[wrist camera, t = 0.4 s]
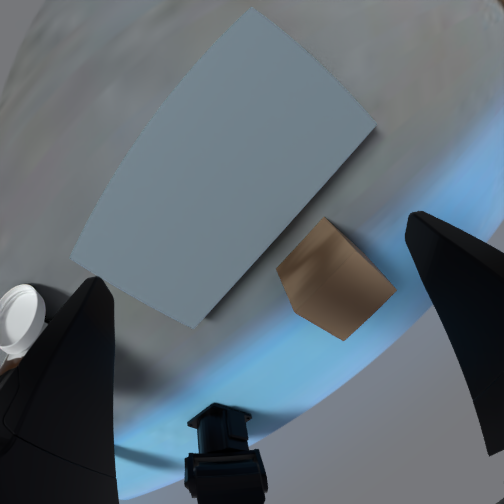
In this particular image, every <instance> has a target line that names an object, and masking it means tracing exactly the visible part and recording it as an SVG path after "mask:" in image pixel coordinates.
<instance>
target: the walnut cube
mask: <svg viewBox="0 0 504 504" xmlns="http://www.w3.org/2000/svg"><path fill="white" fill-rule="evenodd" d="M276 270H277V272H278V275H279V277H280V279H281V282H282V284H283V286H284V289H285V291H286V293H287V296H288V298H289V301H290V303H291V305H292V308H293V310H294V312H295V313H296V314H298V315H299V316H301V317H303V318H305V319H306V320H308V321H310V322H311V323H313V324H315V325H317V326H318V327H320V328H322V329H323V330H325V331H327V332H329V333H330V334H332V335H334V336H335V337H337V338H339V339H341V340H342V341H345V340H346V339H347V338H348V337H349V336H350V335H351V334H352V333H353V332H355V331H356V330H357V329H358V328H359V327H360V326H361V325H362V324H363V323H364V322H365V321H366V320H367V319H368V318H370V317H371V316H372V315H373V314H374V313H375V312H376V311H377V310H378V309H379V308H380V307H381V306H382V305H383V304H384V303H385V302H386V301H387V300H388V299H389V298H390V297H391V296H392V295H393V294H394V293H395V292H396V291H397V289H396V288H395V287H394V286H393V285H392V284H391V283H390V281H389V280H388V279H387V278H386V277H385V276H384V275H383V274H382V272H381V271H380V270H379V269H378V268H377V267H376V266H375V265H374V264H373V263H372V261H371V260H370V259H369V258H368V257H367V256H366V255H365V254H364V253H363V252H362V251H361V250H360V249H359V248H358V247H357V246H356V245H355V244H353V243H352V242H351V241H350V240H349V239H348V238H347V237H346V236H345V235H344V234H343V233H342V232H340V231H339V230H338V229H337V228H336V227H335V226H334V225H333V224H332V223H331V222H329V221H328V220H327V219H326V218H325V217H323V218H322V219H321V221H320V222H319V223H318V224H317V225H316V226H315V227H314V228H313V229H312V230H311V231H310V233H309V234H308V235H307V236H306V237H305V238H304V239H303V240H302V241H301V242H300V243H299V245H298V246H297V247H296V248H295V249H294V250H293V251H292V252H291V253H290V254H289V255H288V256H287V258H286V259H285V260H284V261H283V262H282V263H281V264H280V265H279V266H278V267H277V268H276Z"/></svg>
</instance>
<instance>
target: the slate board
mask: <svg viewBox="0 0 504 504" xmlns="http://www.w3.org/2000/svg"><path fill="white" fill-rule="evenodd" d="M376 125H377V123H376V122H375V121H374V120H373V118H372V117H371V116H370V115H369V114H368V113H367V112H366V110H365V109H364V108H363V107H362V106H361V105H360V104H359V103H358V102H357V100H356V99H355V98H354V97H353V96H352V95H351V94H350V93H349V92H348V91H347V90H346V89H345V88H344V87H343V86H342V85H341V83H340V82H339V81H338V80H337V79H336V78H335V77H334V76H333V75H332V74H331V73H330V72H329V71H327V70H326V69H325V68H324V67H323V66H322V65H321V64H320V63H319V62H318V61H317V60H316V59H315V58H314V57H313V56H312V55H310V54H309V53H308V52H307V51H306V50H305V49H304V48H303V47H302V46H300V45H299V44H298V43H297V42H296V41H295V40H293V39H292V38H291V37H290V36H289V35H288V34H286V33H285V32H284V31H283V30H281V29H280V28H279V27H278V26H276V25H275V24H274V23H273V22H271V21H270V20H269V19H268V18H266V17H265V16H264V15H262V14H261V13H260V12H258V11H257V10H256V9H254V8H253V7H251V8H250V9H248V10H247V11H246V12H245V13H244V14H243V15H242V16H241V17H240V18H239V19H238V20H237V21H236V22H235V23H234V24H233V25H232V26H231V27H230V28H229V29H228V30H227V31H226V32H225V33H224V34H223V35H222V36H221V37H220V38H219V39H218V40H217V41H216V42H215V43H214V44H213V45H212V46H211V47H210V48H209V49H208V50H207V52H206V53H205V54H204V55H203V56H202V57H201V58H200V59H199V60H198V62H197V63H196V64H195V65H194V66H193V67H192V68H191V70H190V71H189V72H188V73H187V74H186V75H185V77H184V78H183V79H182V80H181V81H180V83H179V84H178V85H177V86H176V87H175V89H174V90H173V91H172V92H171V94H170V95H169V96H168V97H167V99H166V100H165V101H164V103H163V104H162V105H161V107H160V108H159V109H158V111H157V112H156V113H155V115H154V116H153V117H152V119H151V120H150V121H149V123H148V124H147V125H146V127H145V128H144V130H143V131H142V133H141V134H140V135H139V137H138V138H137V140H136V141H135V143H134V144H133V146H132V147H131V149H130V150H129V152H128V153H127V155H126V156H125V158H124V159H123V161H122V162H121V164H120V166H119V167H118V169H117V170H116V172H115V174H114V175H113V177H112V179H111V180H110V182H109V184H108V185H107V187H106V189H105V190H104V192H103V194H102V196H101V197H100V199H99V201H98V203H97V204H96V206H95V208H94V210H93V212H92V214H91V215H90V217H89V219H88V221H87V223H86V225H85V227H84V229H83V231H82V233H81V235H80V237H79V239H78V241H77V243H76V245H75V247H74V249H73V251H72V253H71V255H70V259H71V260H73V261H74V262H76V263H78V264H79V265H81V266H82V267H84V268H85V269H87V270H89V271H90V272H92V273H93V274H95V275H97V276H99V277H101V278H102V279H103V280H105V281H107V282H108V283H110V284H112V285H113V286H115V287H117V288H118V289H120V290H122V291H123V292H125V293H127V294H129V295H130V296H132V297H134V298H136V299H137V300H139V301H141V302H143V303H145V304H146V305H148V306H150V307H152V308H154V309H156V310H157V311H159V312H161V313H163V314H165V315H167V316H169V317H171V318H172V319H174V320H176V321H178V322H180V323H182V324H184V325H186V326H188V327H190V328H192V329H194V328H195V327H196V326H197V325H198V324H199V323H200V322H201V321H202V319H203V318H204V317H205V316H206V315H207V314H208V313H209V312H210V311H211V310H212V308H213V307H214V306H215V305H216V304H217V303H218V302H219V301H220V300H221V299H222V297H223V296H224V295H225V294H226V293H227V292H228V291H229V290H230V289H231V288H232V286H233V285H234V284H235V283H236V282H237V281H238V280H239V279H240V278H241V277H242V275H243V274H244V273H245V272H246V271H247V270H248V269H249V268H250V267H251V265H252V264H253V263H254V262H255V261H256V260H257V259H258V258H259V257H260V256H261V254H262V253H263V252H264V251H265V250H266V249H267V248H268V247H269V246H270V244H271V243H272V242H273V241H274V240H275V239H276V238H277V237H278V235H279V234H280V233H281V232H282V231H283V230H284V229H285V228H286V227H287V225H288V224H289V223H290V222H291V221H292V220H293V219H294V218H295V217H296V215H297V214H298V213H299V212H300V211H301V210H302V209H303V208H304V206H305V205H306V204H307V203H308V202H309V201H310V200H311V199H312V197H313V196H314V195H315V194H316V193H317V192H318V191H319V190H320V189H321V187H322V186H323V185H324V184H325V183H326V182H327V181H328V180H329V178H330V177H331V176H332V175H333V174H334V173H335V172H336V171H337V169H338V168H339V167H340V166H341V165H342V164H343V163H344V161H345V160H346V159H347V158H348V157H349V156H350V155H351V154H352V152H353V151H354V150H355V149H356V148H357V147H358V146H359V144H360V143H361V142H362V141H363V140H364V139H365V138H366V137H367V135H368V134H369V133H370V132H371V131H372V130H373V129H374V127H375V126H376Z"/></svg>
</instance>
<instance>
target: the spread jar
mask: <svg viewBox="0 0 504 504" xmlns="http://www.w3.org/2000/svg"><path fill="white" fill-rule="evenodd" d="M45 311H46V308H45V302H44V299H43V298H42V296H41V295H40V294H39V293H38V292H37V291H36V290H35V289H34V287H32V286H31V285H28V284H21V285H18V286H16V287H14V288H12V289H11V290H9V291H8V292H7V293H6V294H5V295H4V296H3V297H2V298H1V300H0V349H2V350H3V351H5V352H6V353H8V354H7V356H6V358H5V360H4V362H3V364H2V366H1V368H0V389H1V388H2V387H3V385H4V384H5V382H6V381H7V380H8V378H9V377H10V375H11V374H12V372H13V371H14V369H15V368H16V367H17V366H18V364H19V362H20V361H21V360H22V358H23V357H24V356H25V354H26V353H27V351H28V350H29V349H30V347H31V346H32V345H33V343H34V342H35V341H36V339H37V338H38V337H39V335H40V334H41V333H42V332H43V330H44V329H45V328H46V326H47V325H48V324H49V323H50V321H48V320H46V319H45Z"/></svg>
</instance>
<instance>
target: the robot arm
mask: <svg viewBox="0 0 504 504" xmlns="http://www.w3.org/2000/svg"><path fill="white" fill-rule="evenodd" d="M405 241H406V244H407V247H408V249H409V251H410V253H411V256H412V258H413V260H414V263H415V265H416V268H417V270H418V272H419V275H420V277H421V280H422V282H423V284H424V286H425V289H426V291H427V293H428V295H429V297H430V299H431V301H432V303H433V305H434V307H435V309H436V311H437V313H438V315H439V317H440V320H441V322H442V324H443V326H444V328H445V331H446V333H447V335H448V337H449V340H450V342H451V344H452V347H453V349H454V352H455V354H456V356H457V359H458V361H459V364H460V367H461V369H462V372H463V374H464V377H465V380H466V382H467V385H468V388H469V391H470V394H471V397H472V399H473V403H474V406H475V409H476V413H477V416H478V419H479V422H480V426H481V430H482V433H483V437H484V441H485V444H486V449H487V452H488V455H489V456H491V455H494V454H496V453H498V452H500V451H502V450H504V253H503V252H501V251H499V250H498V249H496V248H494V247H492V246H491V245H489V244H487V243H485V242H483V241H481V240H480V239H478V238H476V237H474V236H472V235H470V234H468V233H466V232H464V231H463V230H461V229H459V228H457V227H455V226H453V225H451V224H449V223H447V222H445V221H443V220H441V219H438V218H436V217H434V216H432V215H430V214H428V213H426V212H424V211H417V212H412V213H410V215H409V217H408V222H407V227H406V232H405ZM114 359H115V329H114V298H113V296H112V294H111V292H110V291H109V289H108V287H107V286H106V284H105V283H104V281H103V280H102V278H101V277H99V276H95V277H91V278H87V279H86V280H85V281H84V282H83V283H82V284H81V286H80V287H79V288H78V289H77V290H76V291H75V292H74V294H73V295H72V296H71V297H70V298H69V300H68V301H67V302H66V303H65V304H64V305H63V307H62V308H61V309H60V310H59V312H58V313H57V314H56V315H55V316H54V318H53V319H52V320H51V321H50V323H49V324H48V325H47V326H46V328H45V329H44V330H43V332H42V333H41V334H40V335H39V337H38V338H37V339H36V341H35V342H34V343H33V345H32V346H31V347H30V349H29V350H28V351H27V353H26V354H25V356H24V357H23V358H22V360H21V361H20V362H19V364H18V366H17V367H16V368H15V369H14V371H13V372H12V374H11V375H10V377H9V378H8V380H7V381H6V382H5V384H4V385H3V387H2V388H1V389H0V504H119V499H118V490H117V479H116V470H115V455H114V432H113V383H114ZM250 419H252V416H251V414H247V413H244V412H241V411H237V410H234V409H231V408H227V407H224V406H221V405H218V404H211V405H210V406H208V407H207V408H206V409H204V410H203V411H202V412H200V413H199V414H198V415H196V416H195V417H194V418H192V419H191V420H190V421H188V422H187V425H188V426H189V427H192V428H196V429H197V435H198V449H199V453H189V457H187V458H185V481H184V484H185V487H186V488H187V489H188V490H189V491H190V493H191V495H192V498H197V501H198V504H264V502H265V494H264V493H267V491H268V483H267V476H266V472H265V469H264V465H263V462H262V459H261V456H260V452H259V449H254V450H249V447H248V442H247V440H248V433H247V428H246V422H247V421H249V420H250ZM496 504H504V498H503V499H502V500H500V501H499V502H498V503H496Z"/></svg>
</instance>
